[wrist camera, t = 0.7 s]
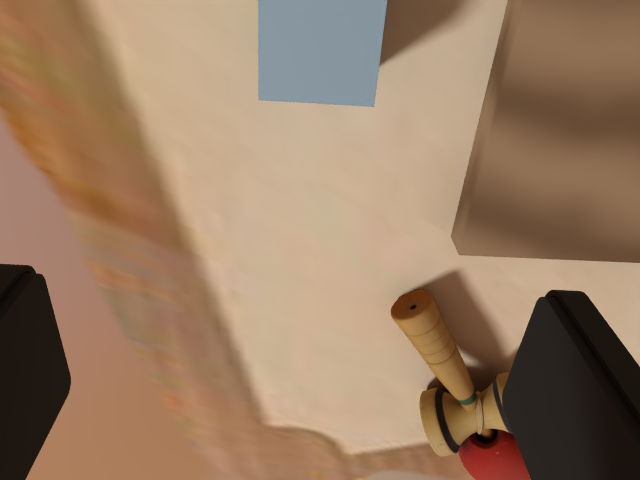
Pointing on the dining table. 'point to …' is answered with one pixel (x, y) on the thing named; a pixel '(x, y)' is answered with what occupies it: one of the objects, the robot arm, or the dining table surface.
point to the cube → (320, 50)
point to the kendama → (459, 398)
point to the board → (558, 137)
